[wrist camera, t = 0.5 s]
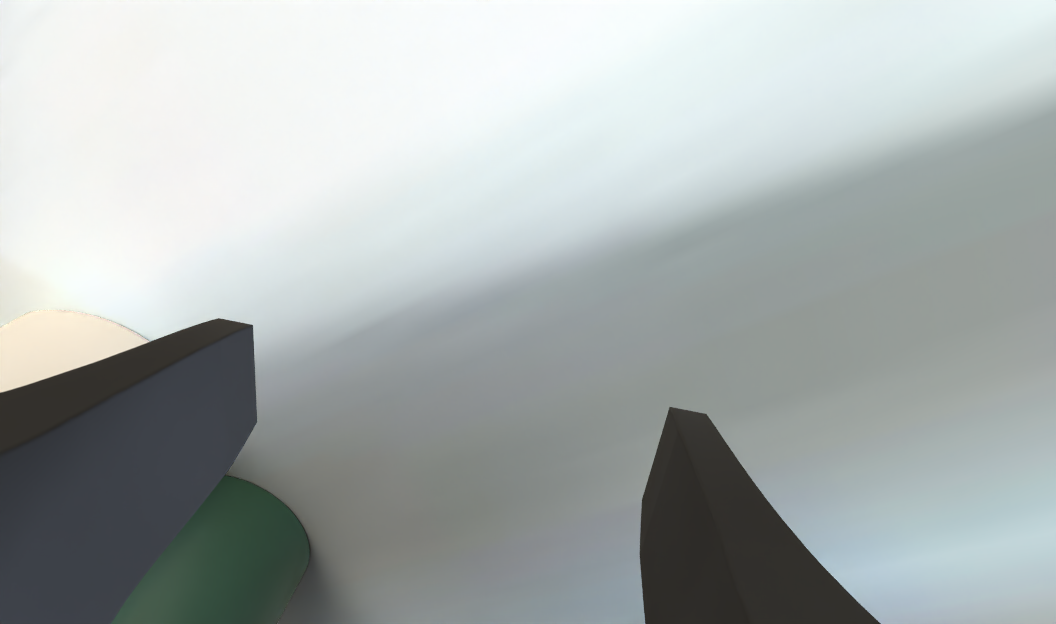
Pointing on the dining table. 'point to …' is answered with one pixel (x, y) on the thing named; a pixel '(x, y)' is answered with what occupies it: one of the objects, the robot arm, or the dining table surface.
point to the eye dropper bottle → (57, 345)
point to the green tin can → (225, 563)
